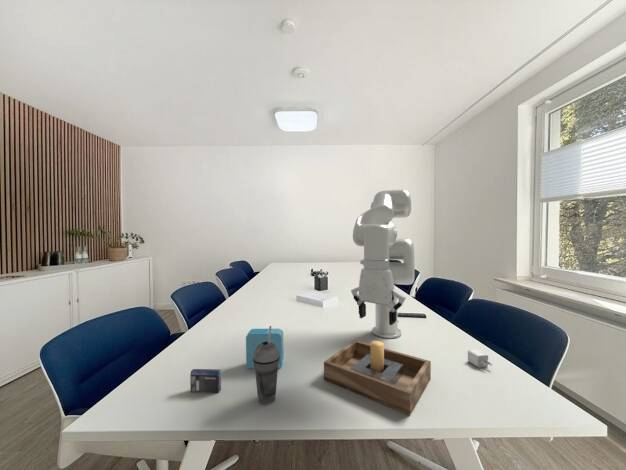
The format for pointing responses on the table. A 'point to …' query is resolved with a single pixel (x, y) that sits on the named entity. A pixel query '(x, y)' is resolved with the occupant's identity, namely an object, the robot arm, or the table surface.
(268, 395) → the beverage cup
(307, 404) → the table surface
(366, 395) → the open box
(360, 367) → the bore plate
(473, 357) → the usb wall charger
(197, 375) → the mini dv tape
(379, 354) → the peg
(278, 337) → the data package
